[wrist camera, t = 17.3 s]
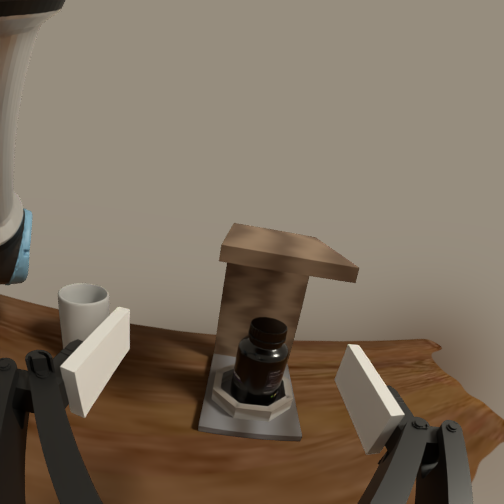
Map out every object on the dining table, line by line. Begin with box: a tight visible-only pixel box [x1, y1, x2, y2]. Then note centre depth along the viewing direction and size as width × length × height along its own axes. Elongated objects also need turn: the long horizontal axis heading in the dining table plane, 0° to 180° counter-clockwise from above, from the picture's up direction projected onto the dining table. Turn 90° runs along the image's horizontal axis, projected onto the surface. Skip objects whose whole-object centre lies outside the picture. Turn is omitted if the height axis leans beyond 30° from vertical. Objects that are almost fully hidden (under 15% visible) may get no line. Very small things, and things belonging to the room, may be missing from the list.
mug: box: [58, 283, 109, 349], centre depth 40 cm, size 12×8×11 cm
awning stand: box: [198, 223, 359, 441], centre depth 37 cm, size 13×20×24 cm, turn 1°
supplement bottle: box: [230, 317, 289, 406], centre depth 37 cm, size 7×7×12 cm
